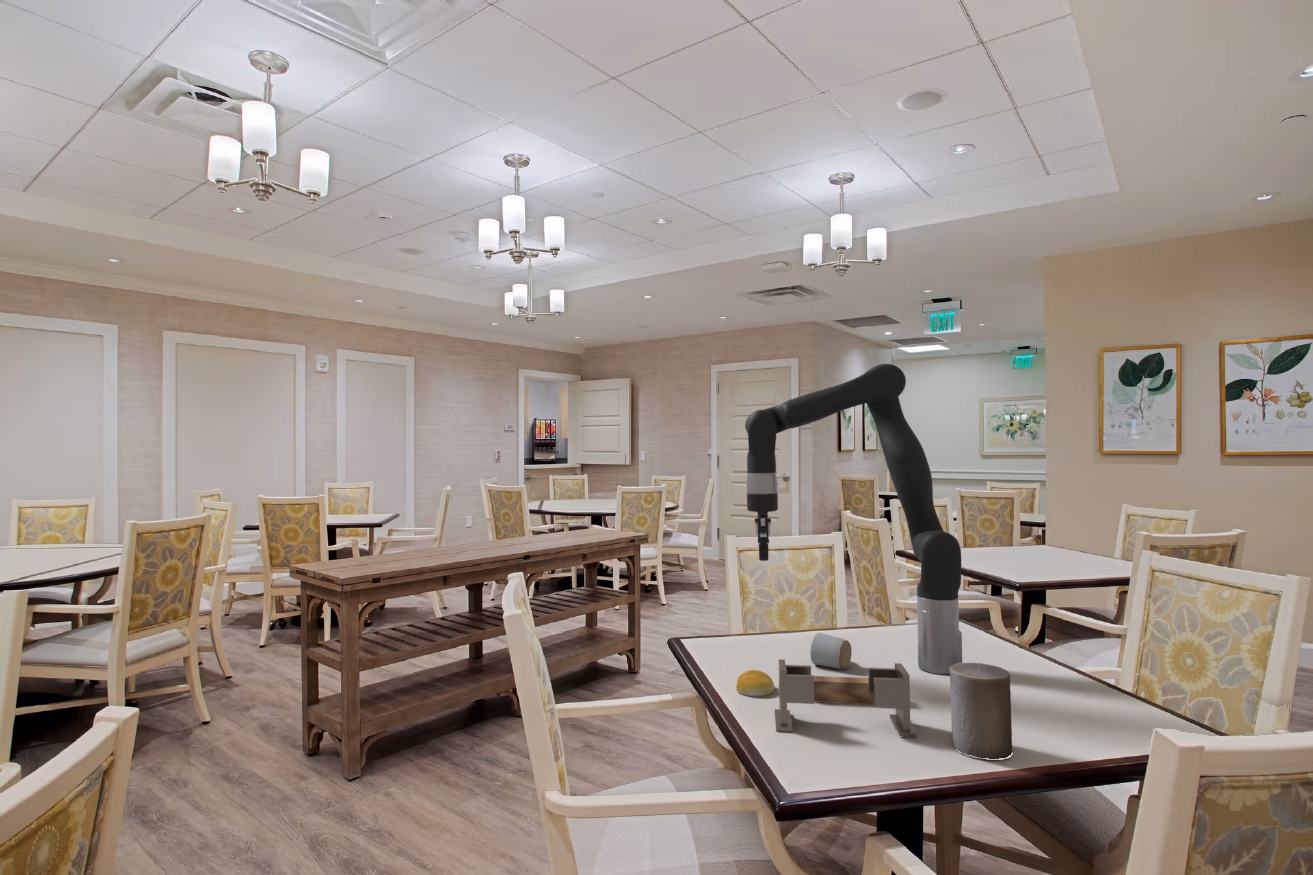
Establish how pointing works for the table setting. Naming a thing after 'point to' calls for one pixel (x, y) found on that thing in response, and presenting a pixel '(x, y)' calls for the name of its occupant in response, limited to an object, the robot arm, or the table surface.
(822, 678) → the rail
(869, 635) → the table surface
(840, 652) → the ceramic mug
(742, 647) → the table surface
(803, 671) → the brackets
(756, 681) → the bread roll
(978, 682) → the pillar candle
